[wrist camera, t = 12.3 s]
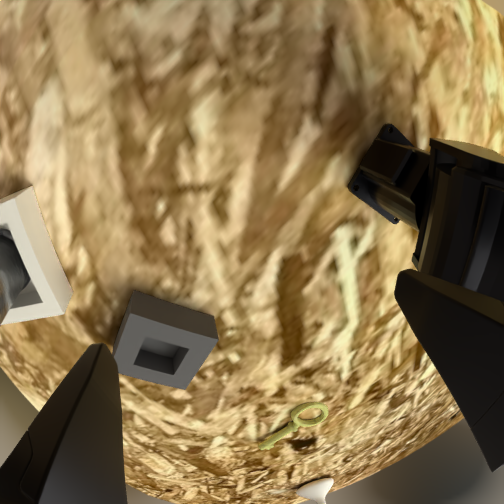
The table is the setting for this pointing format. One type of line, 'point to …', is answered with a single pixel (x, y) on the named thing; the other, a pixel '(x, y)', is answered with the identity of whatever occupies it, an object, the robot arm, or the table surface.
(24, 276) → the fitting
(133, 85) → the table surface
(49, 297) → the tray
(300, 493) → the flower in vase
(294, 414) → the key
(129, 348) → the block
